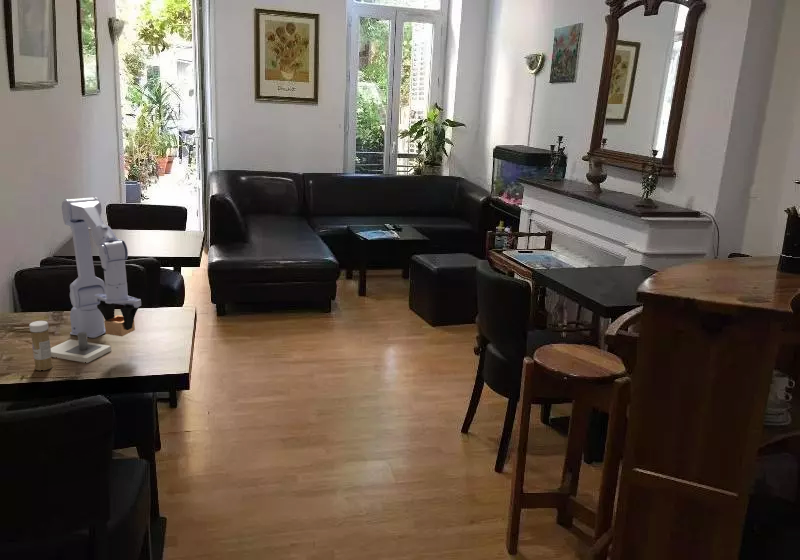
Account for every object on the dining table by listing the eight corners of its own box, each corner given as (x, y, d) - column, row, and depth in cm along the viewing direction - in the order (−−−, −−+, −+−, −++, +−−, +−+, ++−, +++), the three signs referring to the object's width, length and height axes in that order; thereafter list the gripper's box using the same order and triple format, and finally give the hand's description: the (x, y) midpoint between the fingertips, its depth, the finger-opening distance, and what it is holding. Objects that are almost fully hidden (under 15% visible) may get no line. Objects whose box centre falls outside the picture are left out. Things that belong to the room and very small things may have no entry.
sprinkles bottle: (32, 368, 184) (26, 322, 181) (49, 363, 188) (43, 319, 184) (39, 372, 182) (33, 327, 178) (56, 367, 185) (50, 322, 181)
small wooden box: (105, 333, 190) (104, 320, 188) (118, 327, 195) (117, 314, 194) (122, 336, 188) (120, 323, 187) (134, 330, 193) (133, 317, 192)
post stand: (45, 355, 193) (42, 334, 191) (70, 343, 202) (68, 324, 200) (87, 362, 189) (85, 341, 187) (111, 350, 198) (109, 330, 196)
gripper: (84, 283, 185) (89, 328, 189) (128, 289, 182) (131, 335, 185) (102, 277, 192) (106, 320, 196) (144, 282, 188) (148, 327, 192)
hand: (120, 327), depth 191 cm, fingers closed on small wooden box, 6 cm apart
